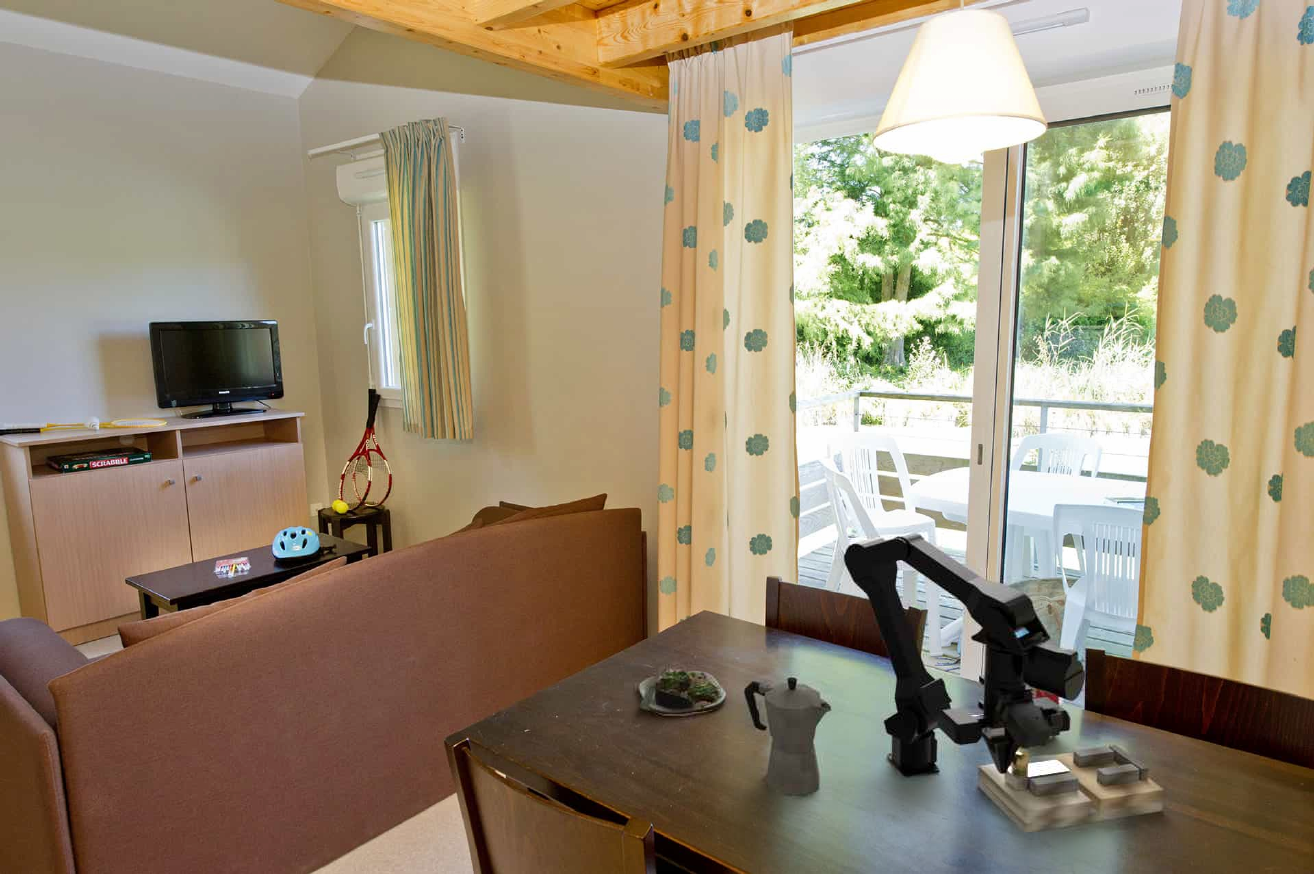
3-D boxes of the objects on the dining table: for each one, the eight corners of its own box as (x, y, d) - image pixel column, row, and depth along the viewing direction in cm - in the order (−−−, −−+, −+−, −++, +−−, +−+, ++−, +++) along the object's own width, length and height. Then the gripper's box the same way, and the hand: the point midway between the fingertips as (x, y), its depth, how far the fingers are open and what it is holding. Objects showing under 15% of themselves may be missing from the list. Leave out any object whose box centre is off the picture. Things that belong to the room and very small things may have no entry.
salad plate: (626, 679, 169) (625, 659, 168) (706, 669, 173) (705, 649, 172) (644, 724, 150) (643, 701, 149) (733, 711, 154) (733, 689, 153)
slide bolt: (1016, 790, 119) (1017, 759, 118) (1004, 779, 122) (1005, 749, 121) (1069, 782, 121) (1070, 752, 120) (1056, 771, 124) (1057, 742, 123)
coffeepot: (842, 779, 130) (842, 676, 127) (818, 809, 122) (818, 700, 119) (759, 752, 139) (757, 655, 136) (732, 778, 131) (730, 676, 128)
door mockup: (1025, 833, 115) (1026, 798, 114) (977, 786, 127) (978, 754, 126) (1162, 810, 119) (1164, 777, 118) (1103, 767, 131) (1105, 736, 130)
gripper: (978, 708, 108) (975, 812, 110) (1099, 693, 111) (1094, 795, 114) (936, 673, 119) (934, 769, 121) (1047, 660, 122) (1043, 753, 124)
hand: (1001, 772), depth 120 cm, fingers closed
